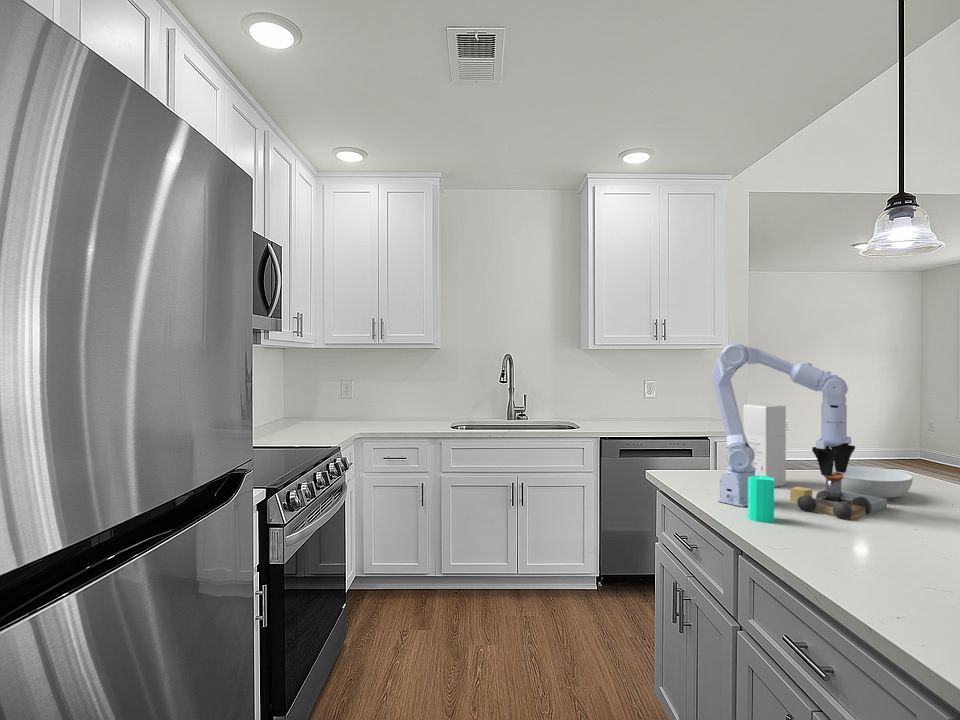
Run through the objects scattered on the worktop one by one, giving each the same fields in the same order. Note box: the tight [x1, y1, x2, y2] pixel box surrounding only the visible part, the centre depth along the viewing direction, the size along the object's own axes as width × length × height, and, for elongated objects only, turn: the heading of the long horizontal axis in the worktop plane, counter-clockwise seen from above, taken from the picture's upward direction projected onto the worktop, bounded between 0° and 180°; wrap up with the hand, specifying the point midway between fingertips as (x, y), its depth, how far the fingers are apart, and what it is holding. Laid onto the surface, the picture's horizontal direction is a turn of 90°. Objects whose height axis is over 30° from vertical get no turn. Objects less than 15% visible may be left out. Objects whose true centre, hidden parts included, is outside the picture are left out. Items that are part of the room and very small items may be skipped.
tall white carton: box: [742, 403, 787, 488], centre depth 191 cm, size 9×9×25 cm
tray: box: [841, 491, 888, 515], centre depth 164 cm, size 9×12×2 cm
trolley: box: [796, 489, 871, 520], centre depth 158 cm, size 13×11×4 cm
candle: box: [747, 475, 775, 523], centre depth 151 cm, size 6×6×12 cm
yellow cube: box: [789, 486, 813, 503], centre depth 170 cm, size 4×4×4 cm
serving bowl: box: [832, 465, 914, 499], centre depth 176 cm, size 21×21×7 cm
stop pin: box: [823, 472, 844, 503], centre depth 158 cm, size 4×4×8 cm
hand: (833, 473), depth 158 cm, fingers open, 7 cm apart
